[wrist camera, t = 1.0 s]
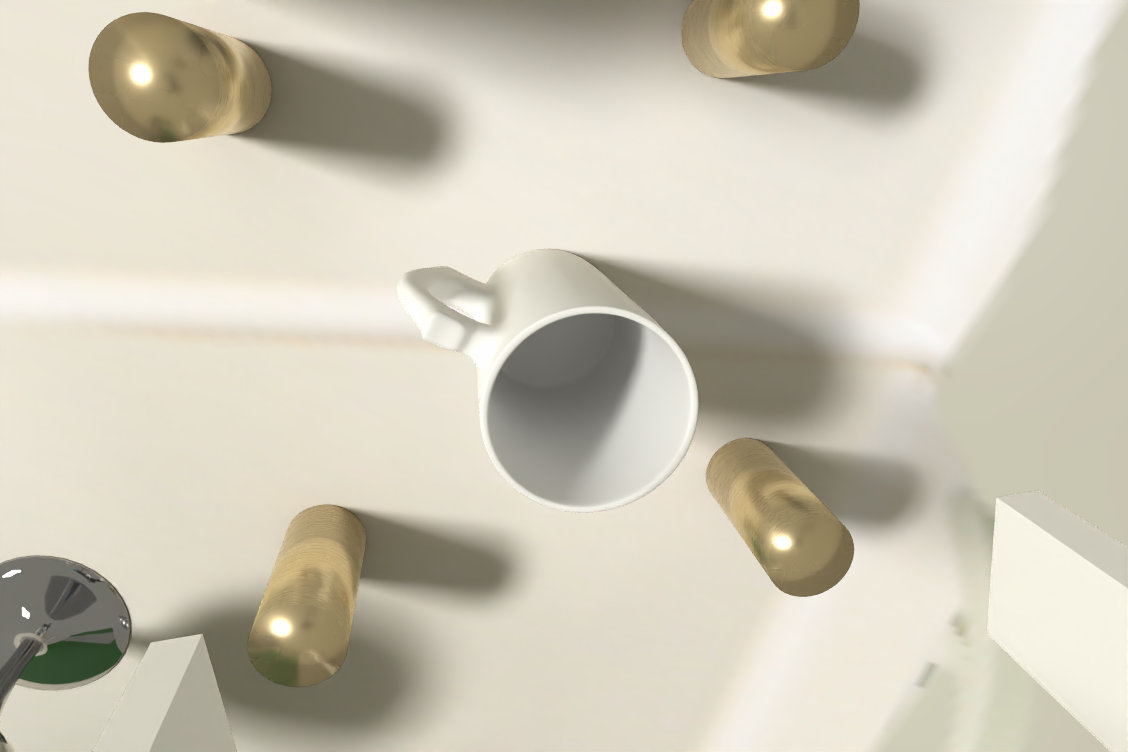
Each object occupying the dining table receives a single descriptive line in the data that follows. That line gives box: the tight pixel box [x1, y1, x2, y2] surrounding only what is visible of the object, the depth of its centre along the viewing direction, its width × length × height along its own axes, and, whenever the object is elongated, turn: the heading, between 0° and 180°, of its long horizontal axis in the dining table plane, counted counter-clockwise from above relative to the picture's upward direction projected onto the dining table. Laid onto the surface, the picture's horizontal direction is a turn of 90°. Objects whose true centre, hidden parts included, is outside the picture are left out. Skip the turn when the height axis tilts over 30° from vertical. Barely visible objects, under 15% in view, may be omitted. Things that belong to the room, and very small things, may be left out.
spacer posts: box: [89, 0, 859, 687], centre depth 32 cm, size 24×24×8 cm
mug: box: [397, 249, 699, 513], centre depth 30 cm, size 10×7×12 cm, turn 60°
